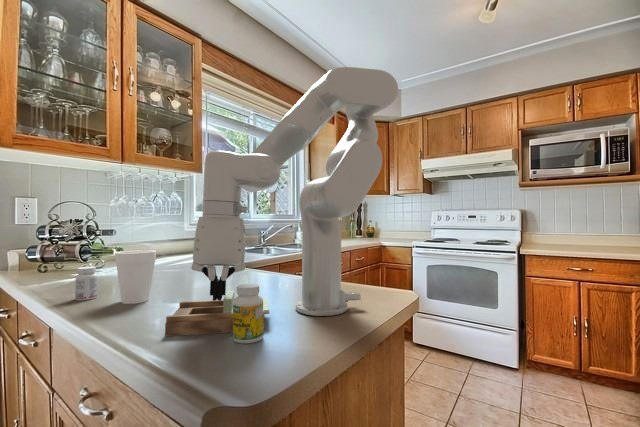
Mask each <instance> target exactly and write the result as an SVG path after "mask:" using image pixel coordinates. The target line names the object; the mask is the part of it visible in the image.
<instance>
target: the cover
mask: <svg viewBox="0 0 640 427" xmlns="http://www.w3.org/2000/svg"><path fill="white" fill-rule="evenodd" d="M234 299H235V290H234V289H233V290H232V289H231V290H226V293H225V295H224V296H223V298H222V300H223V313H231V312H233V301H234ZM263 311H264V315H270V304H269V299H268V298H263Z"/></svg>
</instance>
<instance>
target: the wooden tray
mask: <svg viewBox="0 0 640 427" xmlns="http://www.w3.org/2000/svg"><path fill="white" fill-rule="evenodd" d="M262 299H264V298H263V297H262ZM164 324H165V325H164V326H165V329H164V332H165V334H164V337H177V335H178V336H191V334H195V335H207V334H221V333H222V334H224V333H233V312H231V313H223V299H221V300H215V301H213V299H211V300H194V301H193V300H191V301H180V302H179V307H178V308H177V310H176V311H175V312H174V313H173V314H172V315H166V317H165V323H164ZM264 330H265V314H264V311H263V331H264Z"/></svg>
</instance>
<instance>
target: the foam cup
mask: <svg viewBox="0 0 640 427" xmlns="http://www.w3.org/2000/svg"><path fill="white" fill-rule="evenodd" d="M114 256H115V258H114V259H115V260H114V261H115V264H116V271H117V277H118V278H117V279H118V286H119V293H120V300H121V303H122V304H125V305H126V304H127V305H134V304H141V303H145V302H147V301H150V300H149V299H150V298H151V297H150V296H151V295H150V294H151V290H152V284H153V277H154V270H155V266H156V265H155V263H156V261H157V250H154V249H141V250H140V249H136V250H134V249H133V250H122V251H116V252H115V255H114Z"/></svg>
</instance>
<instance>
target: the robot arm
mask: <svg viewBox="0 0 640 427" xmlns="http://www.w3.org/2000/svg"><path fill="white" fill-rule="evenodd" d="M398 94H399V84H398V82H397V80H396V78H395V77H394V76H393V75H392V74H391V73H390V72H388V71H385V70H382V69H374V68H364V67H354V66H353V67H352V66H340V67H334V68H332V69H330V70H329V71H327V73H325V74H324V75H323V76H322V77H321V78H319V80H318V81H316V82H315V83H314V84H313V85H311V87H310V88H309V89H308V91H307V92H305V93H304V95H303V96H302V97H301V98H300V99H299V100H298V101H297V102H296V104H294V105H293V107H292V108H290V110H289V111H288V112H286V114H285V115H284V116H283V117H282V118H281V119H280V121H279V122H278V123H277V124H276V125H275V126H274V128H273V129H272V130H271V131H270V133H269V134H268V135H267V136H266V137H265V138H264V139H263V141H261V143H260V144H259V145H257V147H256V148H255V149H254V150H253V151H252V152H251V153H241V154H240V153H235V152H232V151H226V150H213V151H209V152H208V153H207V154H206V156H205V159H204V160H205V161H204V174H203V175H204V176H203V197H202V214H201V215H202V216H198V220H197V223H196V228H195V229H196V230H195V235H194V242H193V250H192V263H191V266H190V269H191V270H192V271H195V272H200V273H203V274H204V275H205V277H207V278H208V280H209V281H210V283H209V284H210V287H209V296H212V300H213V301H215V300H223V296H225V294H226V292H227V279H229V278H230V277H231V276H232V275H233V274H234V273H238V272H242V271H245V270H246V262H245V257H246V256H245V255H246V230H245V222H244V218H241V215H242V214H247V213H248V206H244V205H242V204H241V199H242V198H241V196H242V190H244V191H247V192H250V193H257V192H260V191H263V190H267V189H270V188H272V187H274V186H275V185H276V184H277V183H278V181H279V180H280V177H281V167H282V166H283V165H284V164H285V163H286V162H287V161H289V160H290V159H291V158H292V157H293V156H295V155H296V154H298V153H299V152H301V151H302V150H303V149H305V148H306V147H307V146H308V145H309V144H311V143H312V141H313V140H314V139H315V138H316V137H317V135H318V134H319V133H320V132H321V130H322V129H323V128H325V126H326V125H327V124H328V123H329V121H330V120H331V119H332V118H333V117H334V116H335V115H336V114H337V113H338V112H339V111H340V110H341V109H343V108H344V112H345V115H346V118H347V123H348V125H347V126H348V127H347V129H346V131H345V132H344V135H343V136H342V137H341V139H340V140H339V142H338V143H337V145H336V146H335V148H333V150H332V152H331V153H330V154H329V156H328V158H327V159H326V162H325V173H326V175H327V176H325V177H321V178H320V177H319V178H317V179H314V180H311V181H309V183H308V182H307V184H306V185H305V186H303V188H302V189H301V192H300V195H299V212H300V220H301V231H302V233H301V235H302V237H301V238H302V240H301V241H302V244H301V245H302V246H301V249H302V251H301V252H302V253H301V257H302V258H301V261H302V262H301V265H302V267H301V270H302V271H301V300H299V301H297V302H296V303H295V310H296V311H297V312H298V313H300V314H303V315H307V316H315V317H328V316H329V317H330V316H336V315H340V314H343V313H345V312H347V311H348V302H350V301H352V302H356V301H361V298H362V297H361V292H352V291H345V290H343V289H342V232H341V225H340V221H339V218H344V217H348V216H350V215H351V214H353V213H355V211H356V210H357V209H358V208H359V207H360V205H361V204H362V202H363V200H364V199H365V198H366V196H367V194H368V193H369V192H370V189H371V188H372V186H373V184H374V183H375V181H376V179H377V178H378V176H379V174H380V172H381V170H382V166H383V154H382V150H381V148H380V146H379V145H378V143H377V142H378V141H379V131H378V127H377V124H376V120H375V117H374V115H375V114H376V113H379V112H380V111H383V110H385V109H387V108H388V107H390V106H391V105H393V103H394V102H395V101H396V99H397V97H398V96H399V95H398ZM216 266H218V267H221V266H222V269H221V275H220V276H219V278H218V275H217V268H216Z"/></svg>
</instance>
